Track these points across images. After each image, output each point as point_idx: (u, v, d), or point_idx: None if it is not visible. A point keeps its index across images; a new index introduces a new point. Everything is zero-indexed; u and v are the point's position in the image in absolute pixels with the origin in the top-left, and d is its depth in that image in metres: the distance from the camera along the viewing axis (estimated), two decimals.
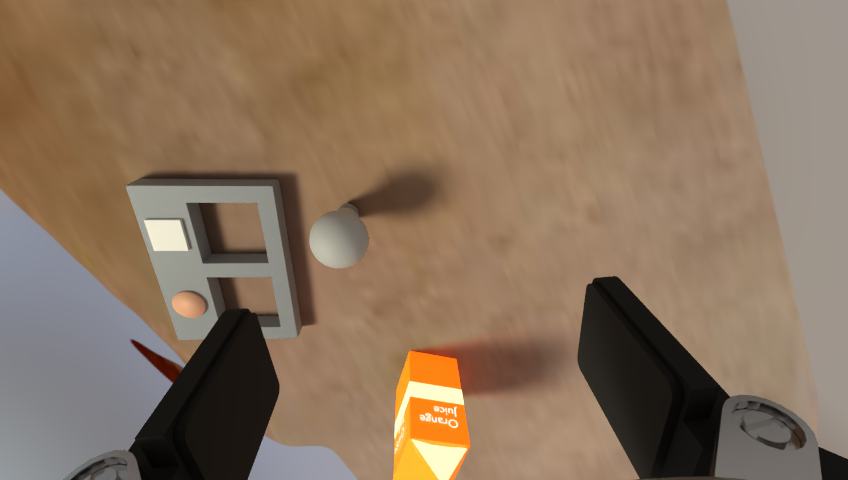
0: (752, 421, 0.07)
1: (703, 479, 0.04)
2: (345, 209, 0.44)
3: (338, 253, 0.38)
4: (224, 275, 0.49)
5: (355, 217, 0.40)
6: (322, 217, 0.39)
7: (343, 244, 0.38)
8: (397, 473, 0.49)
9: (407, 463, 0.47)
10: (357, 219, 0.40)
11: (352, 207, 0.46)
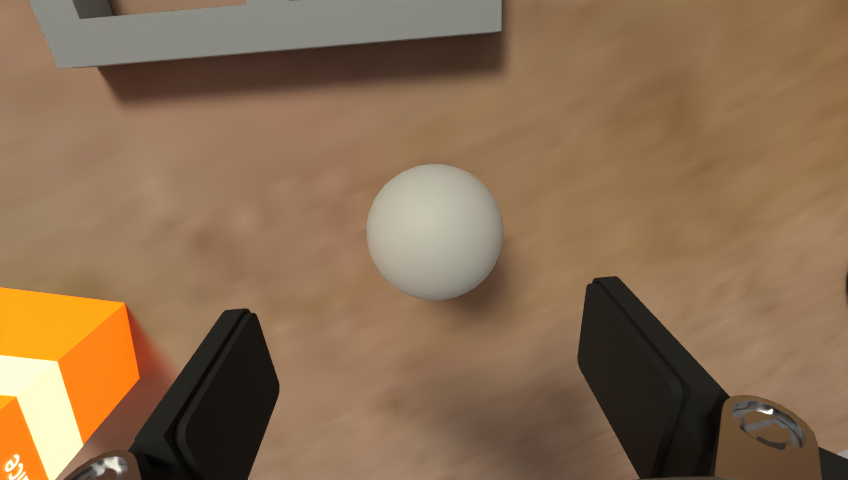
0: (752, 421, 0.07)
1: (703, 479, 0.04)
2: None
3: (438, 273, 0.15)
4: None
5: None
6: (493, 198, 0.17)
7: (460, 279, 0.15)
8: None
9: None
10: None
11: None
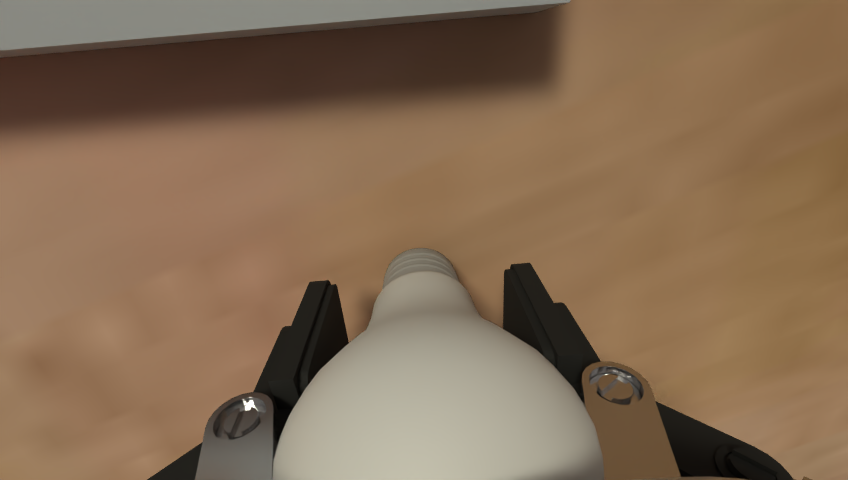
0: (604, 385, 0.07)
1: (703, 479, 0.04)
2: None
3: None
4: None
5: None
6: (590, 420, 0.07)
7: None
8: None
9: None
10: None
11: None
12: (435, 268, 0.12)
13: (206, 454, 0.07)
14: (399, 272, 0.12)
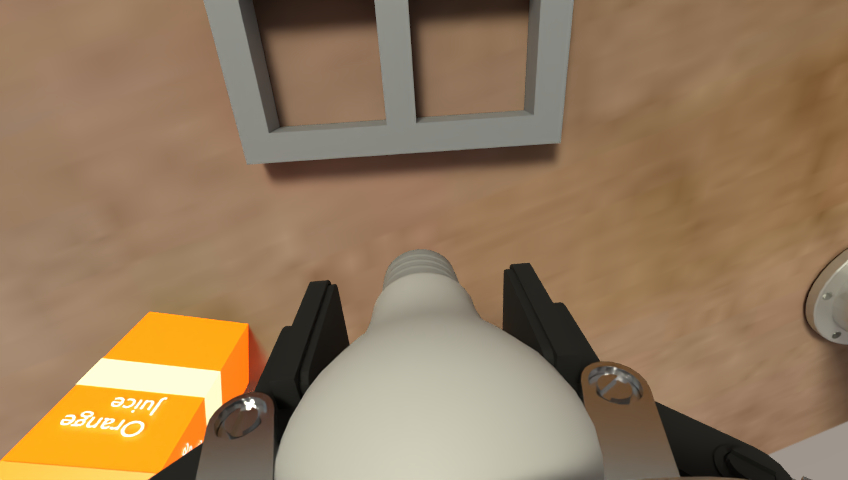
0: (604, 385, 0.07)
1: (703, 479, 0.04)
2: None
3: None
4: (381, 28, 0.24)
5: None
6: (590, 422, 0.07)
7: None
8: (31, 469, 0.22)
9: None
10: None
11: None
12: (435, 269, 0.12)
13: (207, 454, 0.07)
14: (399, 273, 0.12)
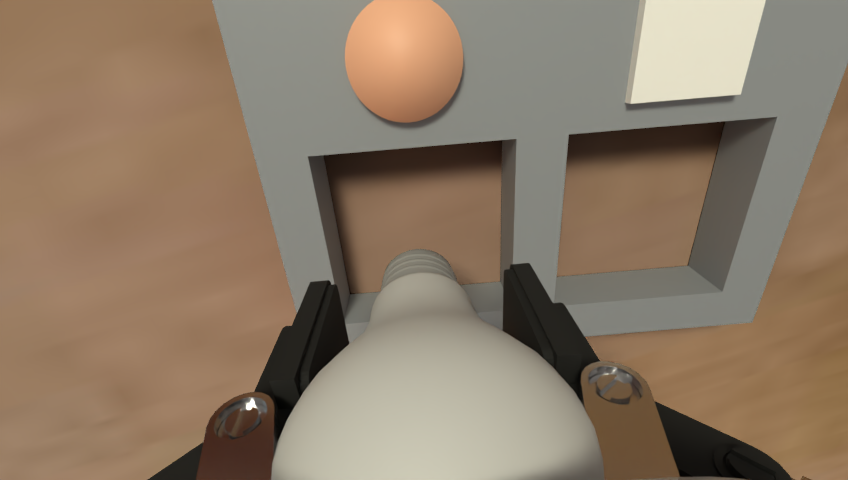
0: (603, 385, 0.07)
1: (703, 479, 0.04)
2: None
3: None
4: (521, 194, 0.16)
5: None
6: (590, 422, 0.07)
7: None
8: None
9: None
10: None
11: None
12: (434, 269, 0.12)
13: (207, 454, 0.07)
14: (398, 273, 0.12)
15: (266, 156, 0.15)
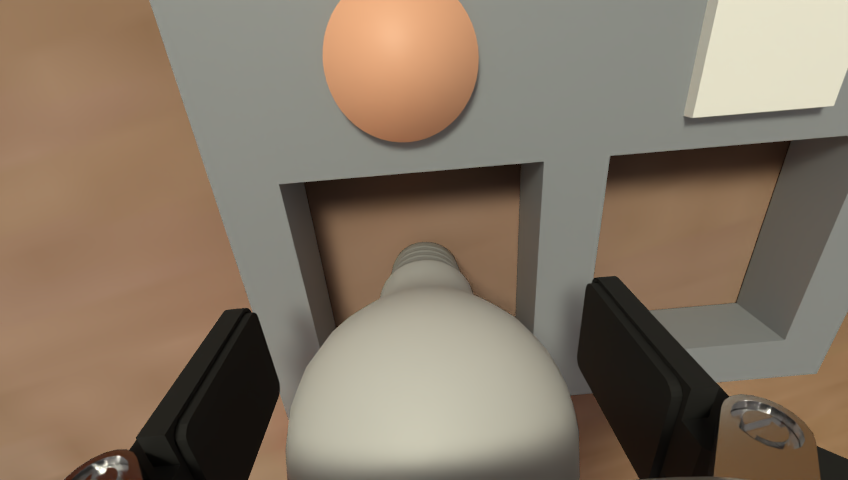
0: (751, 420, 0.07)
1: (703, 479, 0.04)
2: None
3: None
4: (547, 229, 0.13)
5: None
6: (558, 374, 0.08)
7: None
8: None
9: None
10: None
11: None
12: (437, 258, 0.13)
13: None
14: (405, 262, 0.13)
15: (226, 184, 0.12)
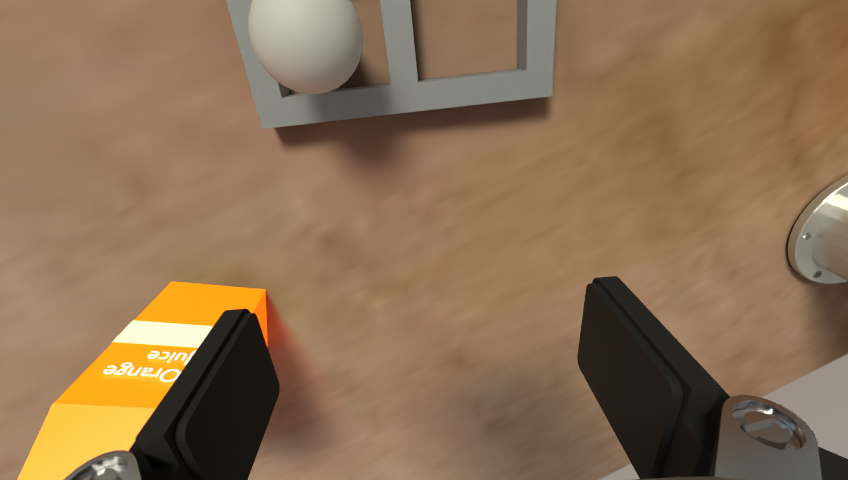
0: (752, 421, 0.07)
1: (703, 479, 0.04)
2: None
3: (294, 43, 0.19)
4: None
5: (356, 66, 0.23)
6: (348, 0, 0.21)
7: (315, 52, 0.20)
8: (82, 409, 0.24)
9: (132, 427, 0.24)
10: (353, 70, 0.23)
11: None
12: None
13: None
14: None
15: None
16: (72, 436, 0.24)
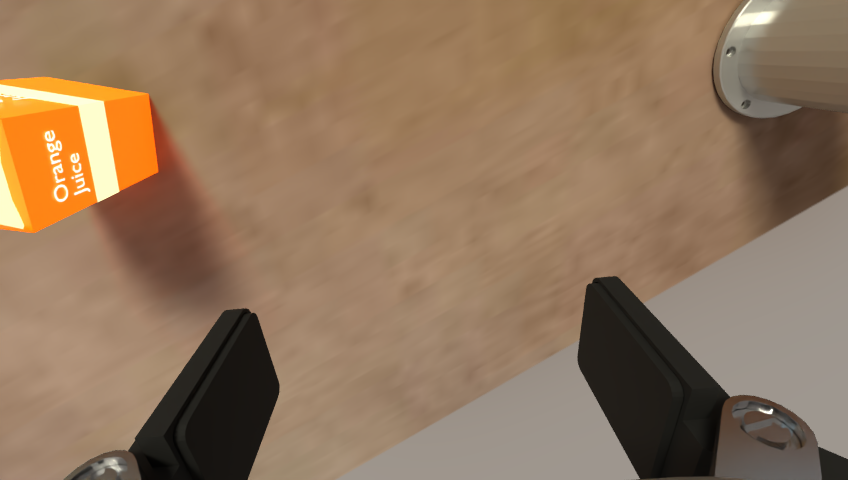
0: (752, 421, 0.07)
1: (703, 479, 0.04)
2: None
3: None
4: None
5: None
6: None
7: None
8: None
9: None
10: None
11: None
12: None
13: None
14: None
15: None
16: None
